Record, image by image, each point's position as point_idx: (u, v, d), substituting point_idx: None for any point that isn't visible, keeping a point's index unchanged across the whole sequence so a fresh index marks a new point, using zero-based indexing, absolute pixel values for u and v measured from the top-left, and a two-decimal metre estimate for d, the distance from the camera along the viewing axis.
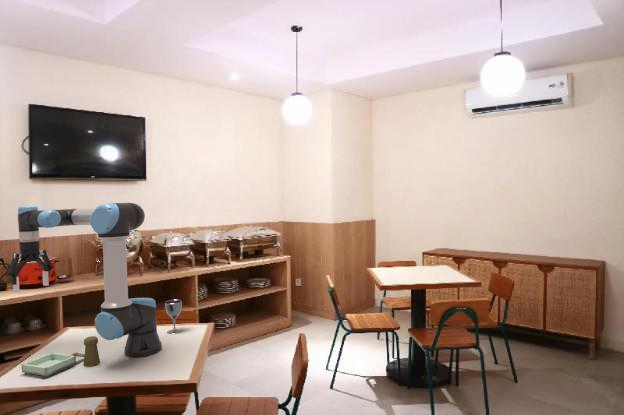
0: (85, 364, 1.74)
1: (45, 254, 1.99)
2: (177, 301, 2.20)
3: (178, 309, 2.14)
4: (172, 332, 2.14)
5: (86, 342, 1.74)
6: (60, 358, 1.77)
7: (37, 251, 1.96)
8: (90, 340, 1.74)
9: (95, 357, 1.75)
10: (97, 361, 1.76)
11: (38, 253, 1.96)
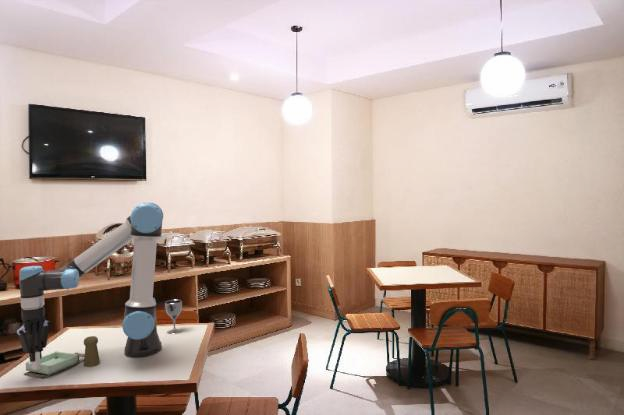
0: (85, 364, 1.74)
1: (48, 326, 1.70)
2: (177, 301, 2.20)
3: (178, 309, 2.14)
4: (172, 332, 2.14)
5: (86, 342, 1.74)
6: (64, 357, 1.79)
7: (43, 318, 1.68)
8: (90, 340, 1.74)
9: (95, 357, 1.75)
10: (97, 361, 1.76)
11: (43, 320, 1.68)
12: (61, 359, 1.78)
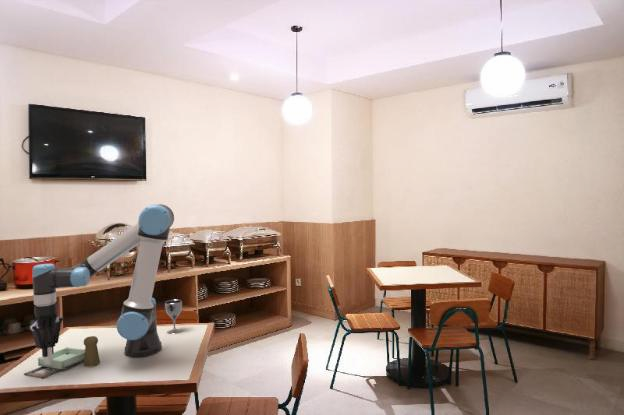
0: (85, 364, 1.74)
1: (59, 322, 1.75)
2: (177, 301, 2.20)
3: (178, 309, 2.14)
4: (172, 332, 2.14)
5: (86, 342, 1.74)
6: (74, 352, 1.83)
7: (55, 314, 1.73)
8: (90, 340, 1.74)
9: (95, 357, 1.75)
10: (97, 361, 1.76)
11: (55, 317, 1.73)
12: (72, 355, 1.82)
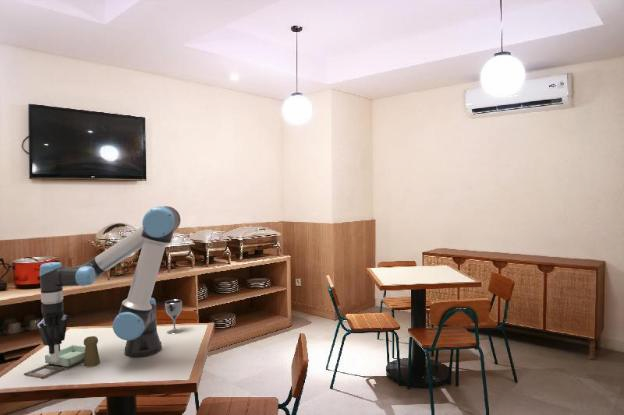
0: (85, 364, 1.74)
1: (66, 320, 1.77)
2: (177, 301, 2.20)
3: (178, 309, 2.14)
4: (172, 332, 2.14)
5: (86, 342, 1.74)
6: (80, 350, 1.86)
7: (62, 312, 1.76)
8: (90, 340, 1.74)
9: (95, 357, 1.75)
10: (97, 361, 1.76)
11: (61, 315, 1.75)
12: (78, 352, 1.85)
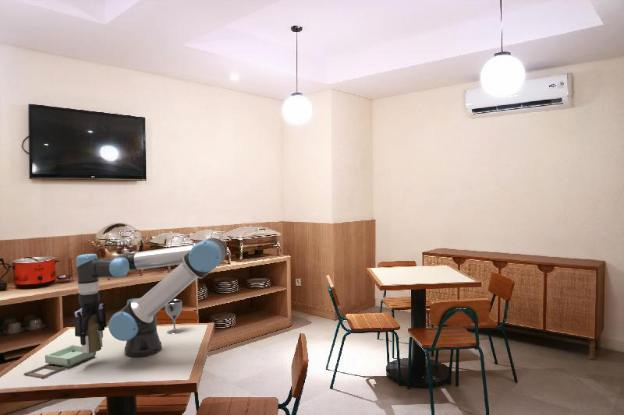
0: None
1: (103, 309, 1.81)
2: (177, 301, 2.20)
3: (178, 309, 2.14)
4: (172, 332, 2.14)
5: (87, 328, 1.74)
6: (80, 350, 1.86)
7: (97, 303, 1.79)
8: (91, 326, 1.74)
9: (96, 344, 1.75)
10: (98, 347, 1.76)
11: (98, 305, 1.79)
12: (78, 352, 1.85)
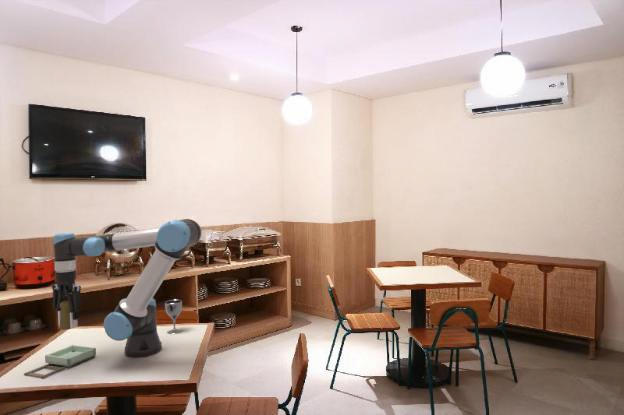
0: None
1: (74, 291, 1.76)
2: (177, 301, 2.20)
3: (178, 309, 2.14)
4: (172, 332, 2.14)
5: None
6: (80, 350, 1.86)
7: (69, 283, 1.77)
8: (60, 303, 1.78)
9: (61, 322, 1.77)
10: (62, 326, 1.77)
11: (69, 286, 1.77)
12: (78, 352, 1.85)
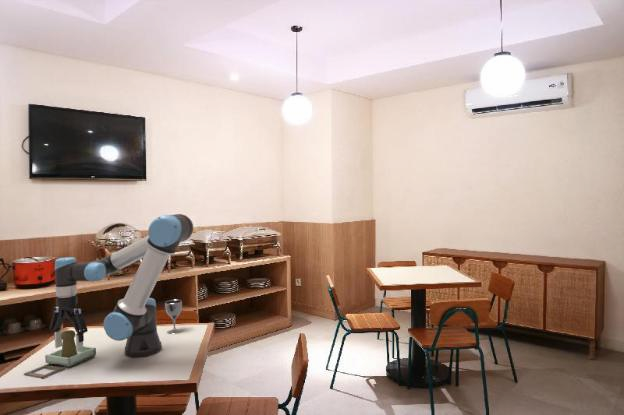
0: None
1: (76, 314, 1.76)
2: (177, 301, 2.20)
3: (178, 309, 2.14)
4: (172, 332, 2.14)
5: None
6: (81, 350, 1.86)
7: (69, 308, 1.77)
8: None
9: (62, 352, 1.77)
10: None
11: (70, 311, 1.77)
12: (78, 352, 1.85)
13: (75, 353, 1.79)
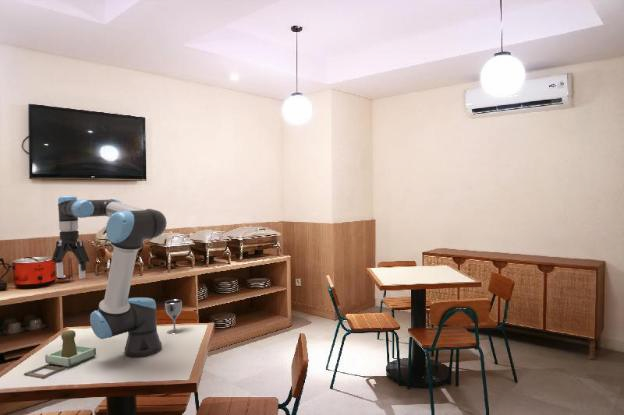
0: None
1: (77, 246, 1.93)
2: (177, 301, 2.20)
3: (178, 309, 2.14)
4: (172, 332, 2.14)
5: None
6: (81, 350, 1.86)
7: (71, 242, 1.95)
8: None
9: (62, 352, 1.77)
10: None
11: (72, 244, 1.94)
12: (78, 352, 1.85)
13: (75, 353, 1.79)
